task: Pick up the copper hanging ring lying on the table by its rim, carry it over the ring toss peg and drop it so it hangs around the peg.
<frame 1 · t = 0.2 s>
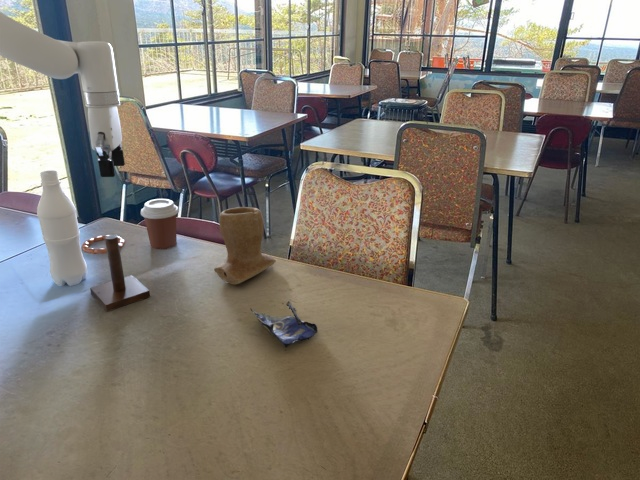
hand: (113, 170, 118), 19 cm above the table, tool pointing down, fingers open, 9 cm apart
stone cup: (242, 271, 113), on the table
ring toss peg: (120, 295, 101), on the table
coffee cup: (164, 247, 124), on the table
water bottle: (71, 283, 106), on the table
hanging ring: (103, 245, 122), point 1 cm above the table
snack package: (284, 333, 91), on the table
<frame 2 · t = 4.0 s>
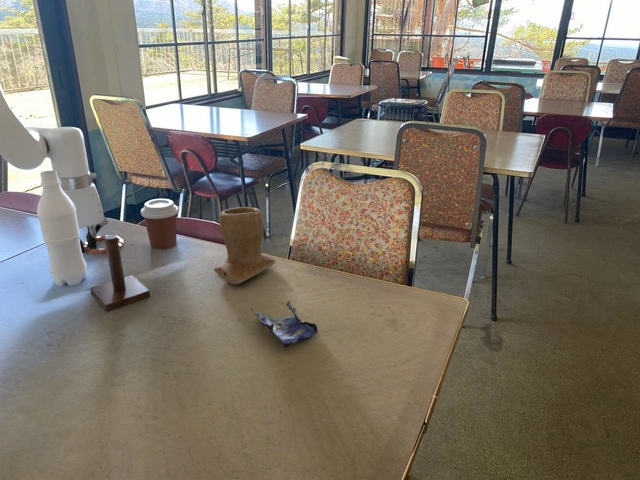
hand: (86, 251, 120), 0 cm above the table, tool pointing down, fingers closed on hanging ring, 2 cm apart
hanging ring: (102, 245, 122), point 1 cm above the table, touching gripper
everything else where it was.
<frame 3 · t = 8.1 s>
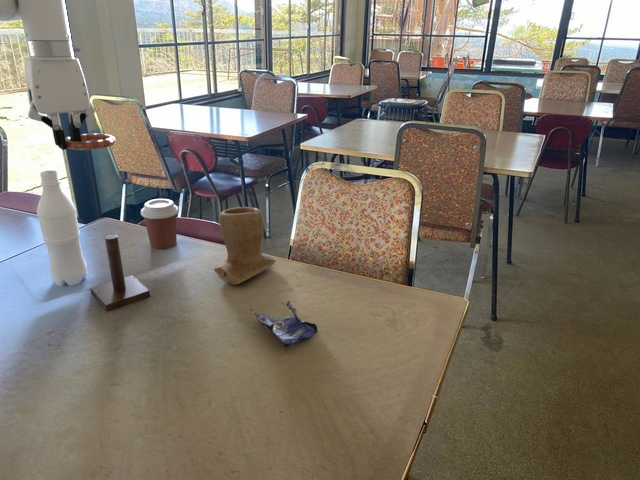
hand: (69, 146, 98), 29 cm above the table, tool pointing down, fingers closed on hanging ring
hanging ring: (89, 141, 100), point 30 cm above the table, touching gripper
everything else where it was.
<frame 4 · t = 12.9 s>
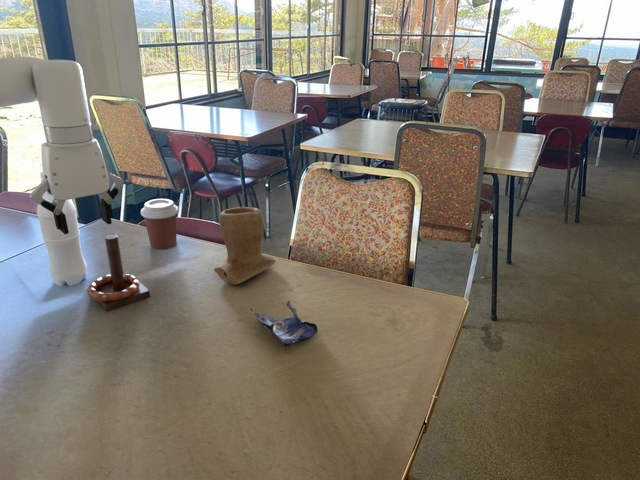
hand: (86, 226, 92), 17 cm above the table, tool pointing down, fingers open, 7 cm apart
hanging ring: (114, 286, 100), point 2 cm above the table, touching ring toss peg
everything else where it was.
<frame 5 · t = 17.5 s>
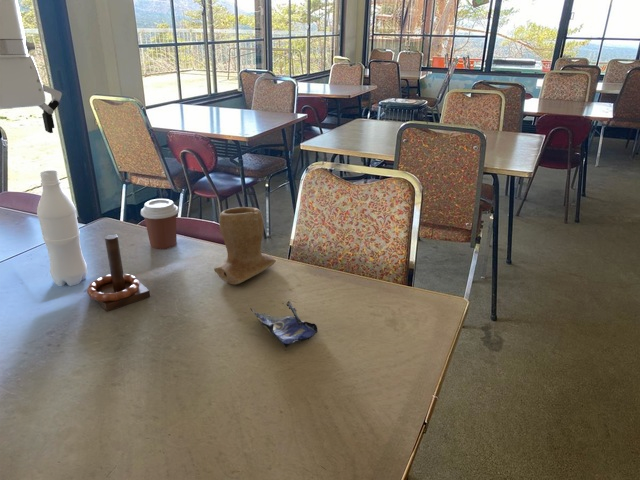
hand: (24, 134, 103), 30 cm above the table, tool pointing down, fingers open, 9 cm apart
nothing on the table moved.
at the end: hanging ring 1.0 cm off-centre on the ring toss peg, point 2.3 cm above the ring toss peg's base; the gripper is holding nothing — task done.
